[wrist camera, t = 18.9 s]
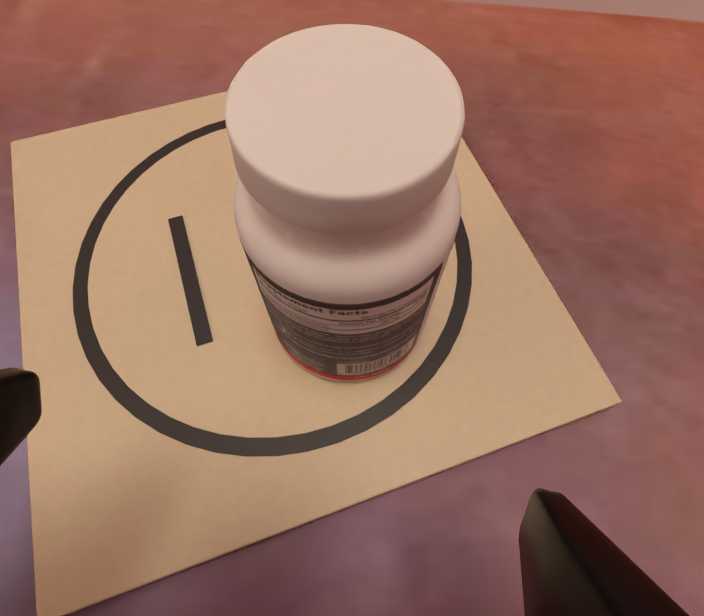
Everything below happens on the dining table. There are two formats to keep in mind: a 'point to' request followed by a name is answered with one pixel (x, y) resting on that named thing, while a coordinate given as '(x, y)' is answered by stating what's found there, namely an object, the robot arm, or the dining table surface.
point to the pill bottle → (346, 191)
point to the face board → (240, 361)
